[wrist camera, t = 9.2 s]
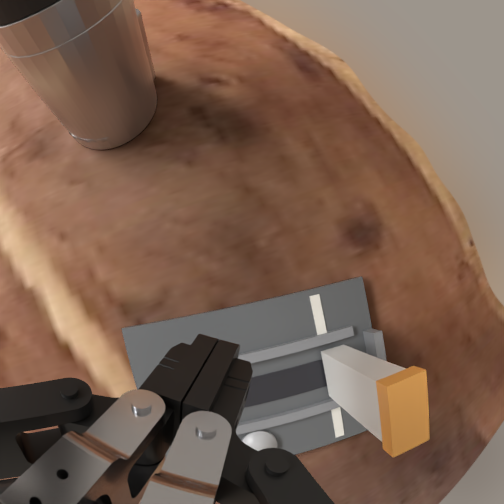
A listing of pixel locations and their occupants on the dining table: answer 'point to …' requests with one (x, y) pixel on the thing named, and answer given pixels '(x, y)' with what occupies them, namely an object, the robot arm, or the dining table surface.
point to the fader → (380, 396)
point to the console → (277, 359)
